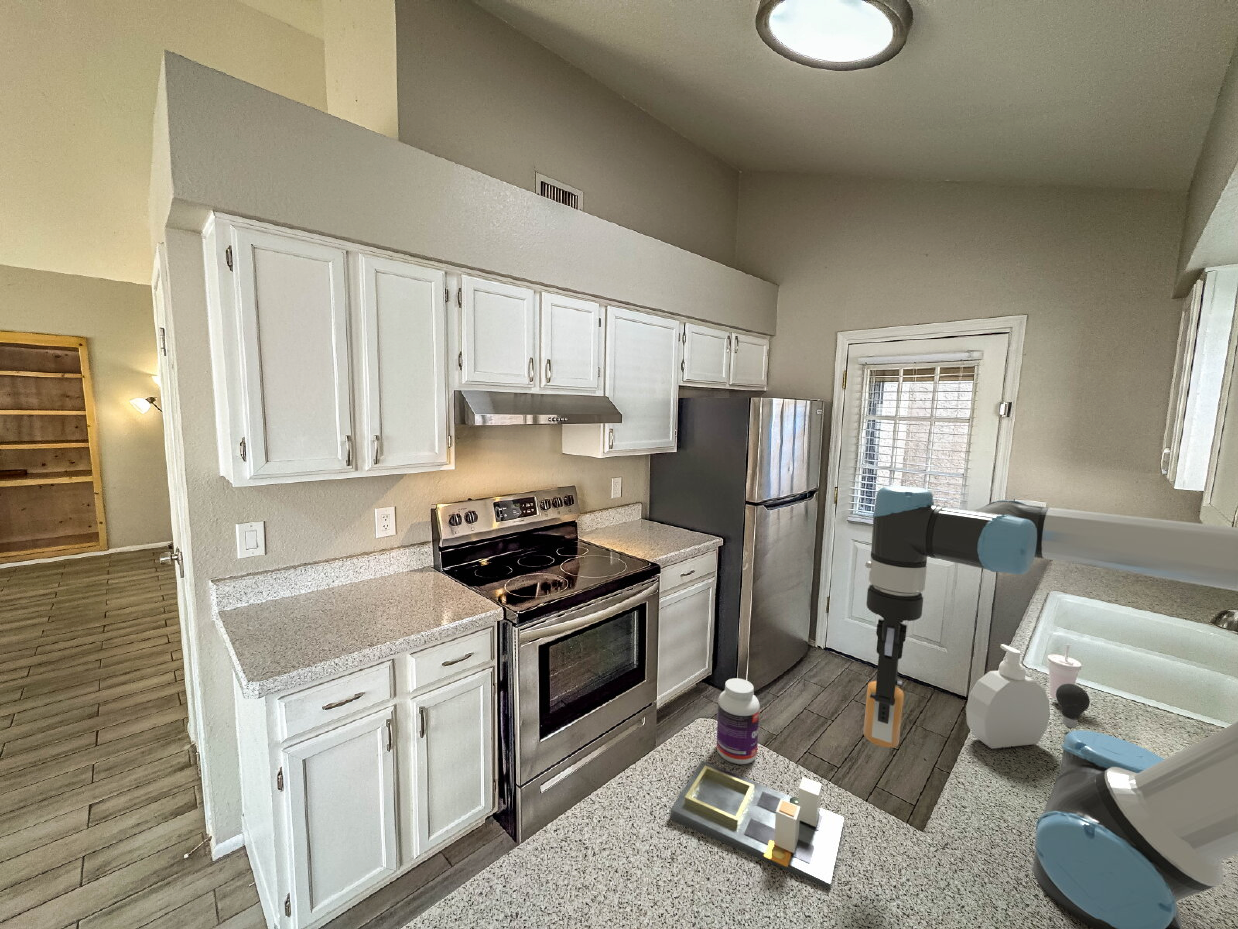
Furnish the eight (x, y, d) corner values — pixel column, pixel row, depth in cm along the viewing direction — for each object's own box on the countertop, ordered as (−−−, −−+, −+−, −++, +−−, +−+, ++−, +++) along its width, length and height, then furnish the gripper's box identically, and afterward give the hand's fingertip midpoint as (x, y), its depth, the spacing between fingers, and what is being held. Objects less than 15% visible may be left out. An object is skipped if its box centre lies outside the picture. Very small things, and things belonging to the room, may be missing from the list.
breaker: (819, 814, 84) (821, 784, 83) (816, 827, 81) (818, 795, 81) (800, 807, 86) (802, 776, 85) (796, 819, 83) (798, 788, 82)
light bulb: (1093, 736, 110) (1098, 692, 109) (1067, 735, 110) (1072, 692, 109) (1070, 720, 116) (1075, 679, 115) (1045, 719, 116) (1050, 678, 115)
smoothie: (1053, 703, 123) (1060, 648, 121) (1036, 689, 129) (1043, 636, 128) (1083, 706, 122) (1091, 650, 120) (1065, 692, 128) (1071, 638, 127)
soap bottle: (1023, 728, 113) (1033, 642, 111) (1047, 743, 108) (1058, 653, 105) (960, 734, 110) (969, 646, 108) (982, 750, 105) (992, 658, 103)
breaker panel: (843, 828, 84) (844, 810, 84) (828, 900, 72) (829, 879, 71) (701, 770, 97) (702, 755, 97) (668, 823, 84) (668, 805, 84)
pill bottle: (758, 770, 97) (762, 699, 96) (715, 763, 99) (718, 693, 98) (755, 743, 105) (759, 677, 104) (716, 737, 107) (719, 672, 105)
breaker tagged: (798, 839, 79) (800, 805, 78) (794, 853, 76) (796, 819, 76) (778, 830, 81) (780, 798, 80) (773, 844, 78) (775, 810, 77)
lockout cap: (899, 734, 81) (904, 685, 80) (897, 752, 77) (903, 700, 76) (865, 723, 84) (869, 676, 83) (861, 740, 80) (866, 690, 79)
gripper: (873, 569, 87) (862, 698, 89) (862, 599, 72) (849, 752, 75) (924, 577, 83) (911, 712, 85) (923, 611, 69) (907, 772, 71)
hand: (882, 730), depth 80 cm, fingers closed on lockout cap, 4 cm apart
